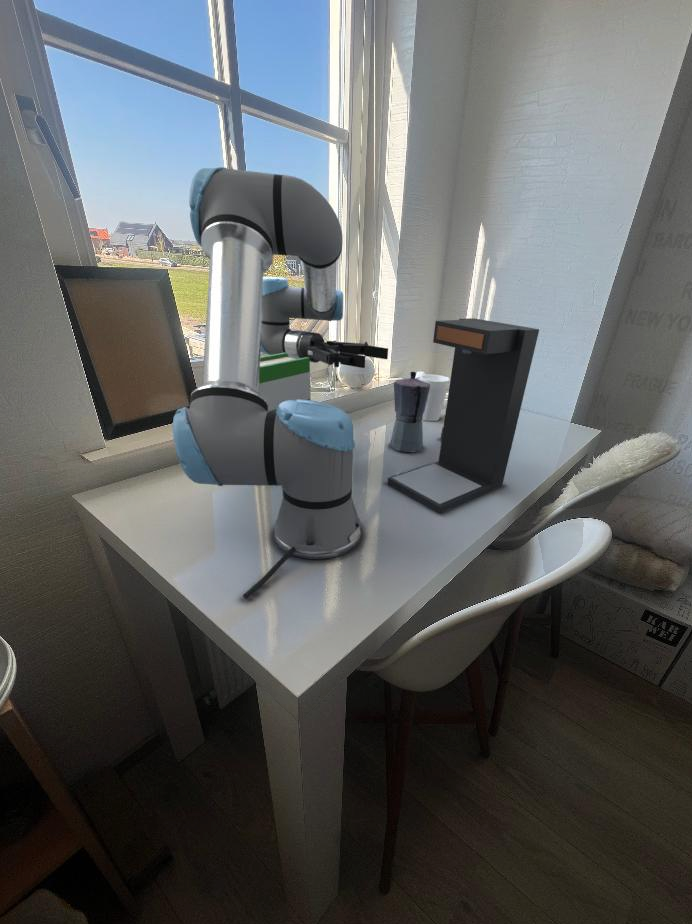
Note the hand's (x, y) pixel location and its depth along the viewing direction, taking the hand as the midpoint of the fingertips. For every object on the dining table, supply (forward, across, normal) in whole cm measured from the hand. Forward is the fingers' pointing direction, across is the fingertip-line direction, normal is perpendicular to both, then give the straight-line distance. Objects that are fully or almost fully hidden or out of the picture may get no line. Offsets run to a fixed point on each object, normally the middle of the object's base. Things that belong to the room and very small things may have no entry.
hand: (376, 357), depth 107 cm
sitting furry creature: (-1, -40, -22) cm, 46 cm away
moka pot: (+11, 0, -22) cm, 25 cm away
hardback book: (-12, +28, -22) cm, 38 cm away
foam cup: (+7, -29, -22) cm, 37 cm away
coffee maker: (+27, +16, -22) cm, 38 cm away
